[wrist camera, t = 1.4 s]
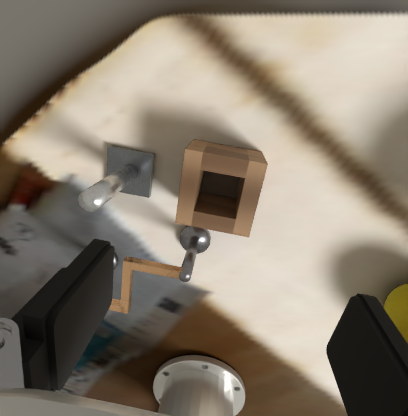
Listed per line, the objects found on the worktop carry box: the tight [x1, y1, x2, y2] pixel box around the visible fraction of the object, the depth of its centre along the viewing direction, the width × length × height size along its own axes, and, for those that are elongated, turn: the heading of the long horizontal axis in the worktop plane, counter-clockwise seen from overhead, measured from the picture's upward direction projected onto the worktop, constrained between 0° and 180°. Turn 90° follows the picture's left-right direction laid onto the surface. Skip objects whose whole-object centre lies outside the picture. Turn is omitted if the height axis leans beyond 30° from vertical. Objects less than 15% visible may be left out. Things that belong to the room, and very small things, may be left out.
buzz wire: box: [109, 226, 211, 314], centre depth 28 cm, size 5×14×7 cm, turn 117°
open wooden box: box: [175, 140, 268, 237], centre depth 25 cm, size 6×6×5 cm
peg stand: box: [78, 145, 155, 212], centre depth 24 cm, size 4×4×9 cm
